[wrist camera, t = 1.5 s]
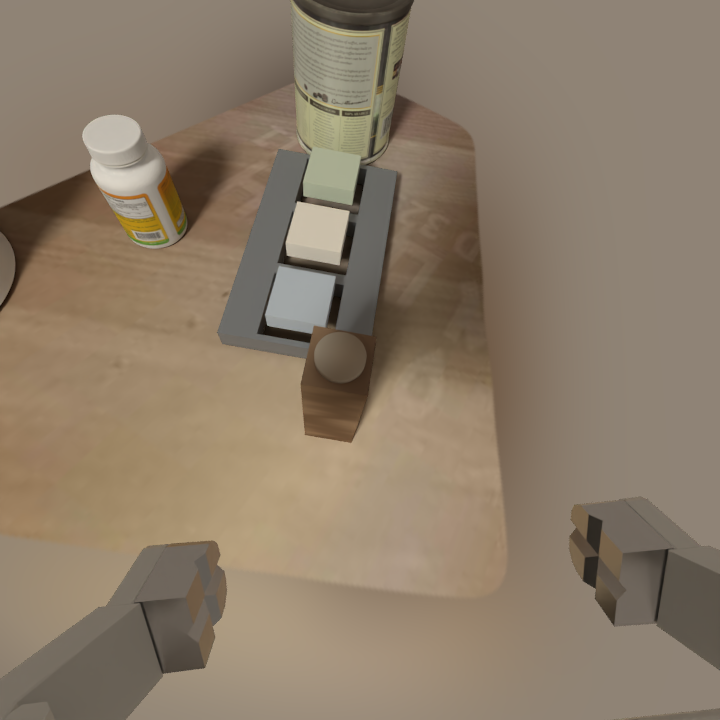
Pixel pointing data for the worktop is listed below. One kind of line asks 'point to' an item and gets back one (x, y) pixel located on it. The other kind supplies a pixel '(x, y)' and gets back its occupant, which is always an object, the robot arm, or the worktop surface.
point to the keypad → (268, 253)
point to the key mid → (317, 233)
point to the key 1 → (300, 300)
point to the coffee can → (347, 72)
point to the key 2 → (331, 175)
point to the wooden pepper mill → (336, 382)
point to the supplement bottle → (134, 181)
